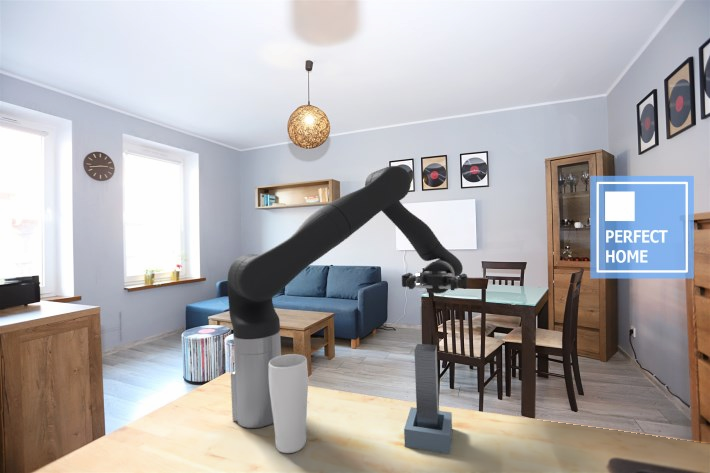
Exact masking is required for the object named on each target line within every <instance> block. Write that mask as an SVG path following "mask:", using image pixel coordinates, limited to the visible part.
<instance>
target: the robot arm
mask: <svg viewBox="0 0 710 473" xmlns="http://www.w3.org/2000/svg"><path fill="white" fill-rule="evenodd" d="M411 186H412V179H411V175H410V173H409V172H408V171H407V170H406V169H405V168H403V167H402V166H398V165H390V166H386V167H384V168H381V169H379V170H376V171H374V172H372V173H370V174H369V175H367V177H366V179H365V182H364V186H363V187H362V188H360V189H357V190H355V191H352V192H349V193H347V194H345V195H343V196H341V197H339V198H337V199H334V200H333V201H331V202H329V203H327V204H325V205H324V206H323V207H322V208H319V209H318V210H317V211H315V212H314V213H312V214H310V215H309V217H308V218H306V219H305V220H304V222H303V223H302V224H301V225H300V226H299V227H298V228H297V230H296V231H294V233H293V234H292V235H291V236H289V237H288V238H287V239H285V240H284V241H283V242H281V243H279V244H278V245H276V246H274V247H272V248H270V249H269V250H267V251H264V252H262V253H259V254H254V253H253V254H252V253H250V254H243V255H241V256H240V257H237V258H236V259H235V260H234V261H233V262H232V263H231V265H230V267H229V270H228V273H227V297H228V309H229V310H228V312H229V318H230V323H231V325H232V334H233V335H232V336H233V358H234V360H233V361H234V371H232V372H231V373H230V387H231V388H230V389H231V391H230V393H231V412H232V416H231V417H232V421H235V422H237V424H238V425H239V426H241V427H244V428H248V429H257V428H263V427H266V426H267V427H268V426H270V425H272V424H274V422H273V414H272V407H271V399H270V391H269V377H268V367H269V365H268V364H269V361H270V360H271V359H273V358H275V357H277V356H281V355H282V349H281V348H282V346H281V342H282V341H281V322H280V317H279V315H278V314H277V312H276V309H275V307H274V302H273V298H274V297H275V296H277V295H278V294H279V293H280V292H281V291H282V290H284V289H285V288H286V287H287V285H289V283H291V281H293V280H294V279H295V278H296V277H298V275H299V274H301V273H302V272H303V271H304V270H305V269H306V268H307V267H308V266H310V265H312V264H313V263H314V262H316V261H317V260H319V259H320V258H322V257H323V256H324V255H326V254H327V253H329V251H331V250H333V249H335V247H337V246H339V245H340V244H342V243H343V242H344V241H346V240H347V239H348V238H349V237H351V236H352V235H354V233H355V232H356V231H358V230H359V229H361V228H362V227H363V226H364V225H365V224H367V223H368V222H370V221H371V220H372V219H373V218H374V217H375V216H376V215H378V214H379V213H380V212H382V213H383V214H384V215H385V216H386V217H387V218H388V219H389V220H390V221H391V222H392V223H393V225H394V226H396V227H397V228H398V230H400V232H401V233H402V235H404V236H405V238H406V239H407V240H408V241H409V244H410V245H411V246H412V248H413V249H414V251H416V253H417V255H418V256H419V257H420V258H421V260H422V261H424V262H429V261H430V262H431V261H432V262H431V263H429V264H427V265H426V266H425V267H424V268H423V269H422V271H421V272H417V273H415V275H413V273H411V272H408V273H405V274H402V275H401V287H403V288H408V289H409V290H413V289H415V288H417V289H426V290H427V291H428V292H430V293H432V294H438V295H439V294H443V293H445V292H447V291H448V290H450V291H455V290H458V289H460V287H461V288H462V289H463V290H465V289H468V275H467V274H466V273H463V265H462V262H461V260H460V259H459V258H458V257H457V256H456V255H454V254H453V253H452V252H451V251H449V250H448V249H446V247H445V246H443V244H442V243H441V242H440V240H439V239H438V237H437V236H436V235H435V233H434V231H433V230H432V229H431V227H430V226H429V225H428V224H427V223H425V221H423V220H422V219H420V218H419V217H418V216H416V215H415V214H413V212H411V211H409V210H408V208H406V207H405V206H404V204H403V203H402V202H401V200H403V199H404V198H405V197H406V196H407V195H408V194H409V192H410V189H411Z"/></svg>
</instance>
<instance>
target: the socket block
mask: <svg viewBox="0 0 710 473" xmlns="http://www.w3.org/2000/svg"><path fill="white" fill-rule="evenodd" d="M452 422H453V416H452V412H451V411H443V410H439V425H440V430H436V429H429V428H422V427H417V407H413V406H412V407H411V406H410V409H409V412H408V416H407V419H406V423H405V424H404V428H403V430H404V431H403V433H404V434H403V436H404V438H403V439H404V447H406V448H411V449H417V450H424V451H431V452H437V453H443V454H447V455H449V454H451V446H452V436H453V435H452V434H453V423H452Z"/></svg>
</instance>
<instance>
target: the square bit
mask: <svg viewBox="0 0 710 473" xmlns="http://www.w3.org/2000/svg"><path fill="white" fill-rule="evenodd" d="M437 346H438V345H437V344H429V343H428V344H427V343H426V344H425V343H417V344H416V346H415V348H414V369H415V370H414V372H415V375H414V376H415V377H414V378H415V379H414V380H415V399H416V400H415V402H416V408H417V427H422V428H429V429H436V430H440V425H439V411H440V404H439V403H440V402H439V400H440V399H439V377H438V375H439V373H438V372H439V370H438V347H437Z"/></svg>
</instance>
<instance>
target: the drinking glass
mask: <svg viewBox="0 0 710 473" xmlns="http://www.w3.org/2000/svg"><path fill="white" fill-rule="evenodd" d="M268 365H269V367H268V377H269V391H270V399H271V407H272V414H273V422H274V423H273V428H274V429H273V430H274V438H275V439H274V442H275V447H276V450H277V451H279V452H280V453H282V454H283V453H284V454H292V453H296V452H298V451H301V450H302V449H303V448H304V447H305V445H306V443H307V417H308V416H307V415H308V409H307V408H308V392H309V391H308V390H309V371H308V370H309V369H308V360H307V357H306V356H305V355H303V354H299V353H289V354H288V353H287V354H281V356H277V357H275V358H273V359H271V360H270V361H269V364H268Z"/></svg>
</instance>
